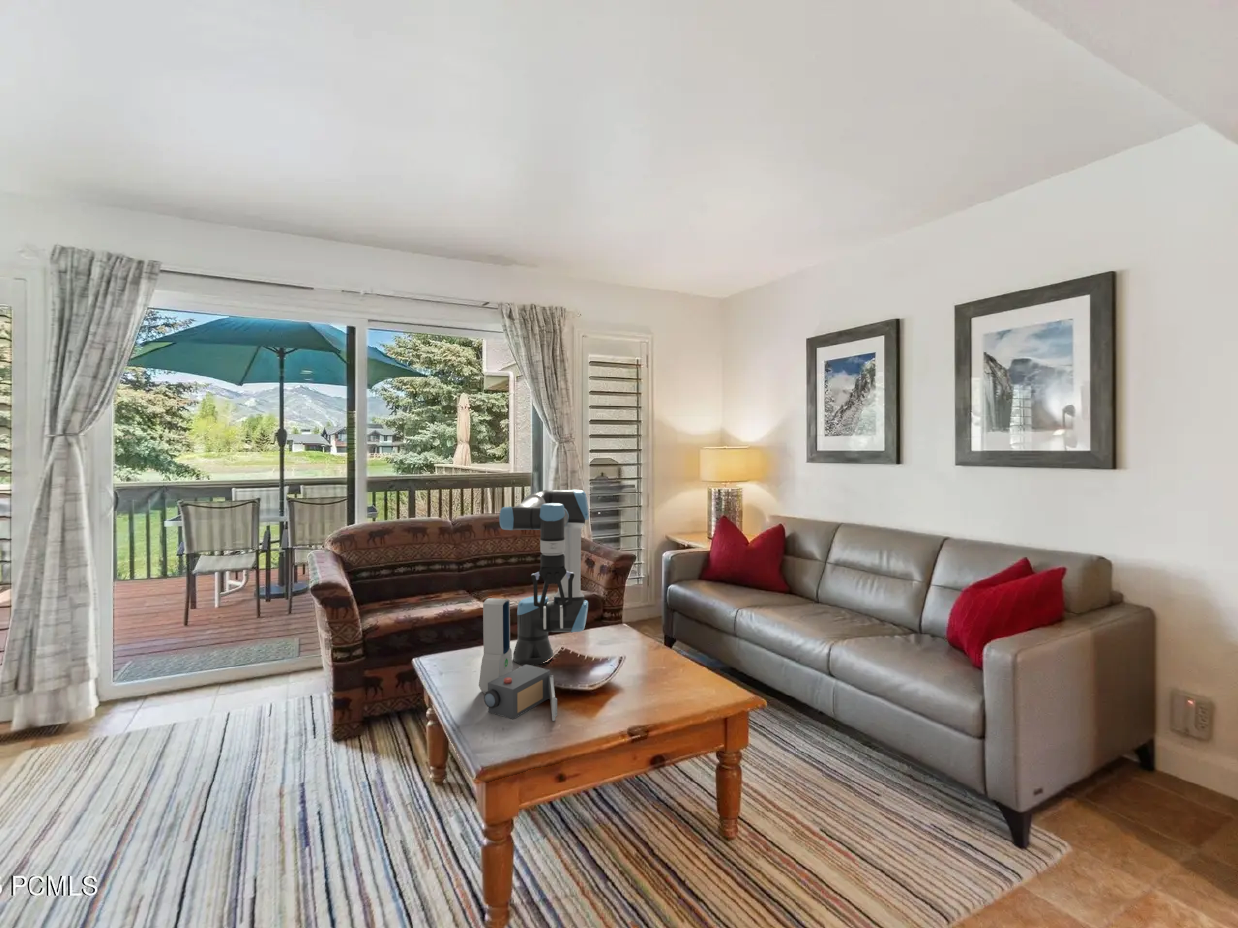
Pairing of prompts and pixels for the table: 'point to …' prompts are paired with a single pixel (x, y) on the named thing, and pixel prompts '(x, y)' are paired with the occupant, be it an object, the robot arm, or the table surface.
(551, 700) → the grey thin flat plate
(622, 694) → the table surface
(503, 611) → the electronic device
